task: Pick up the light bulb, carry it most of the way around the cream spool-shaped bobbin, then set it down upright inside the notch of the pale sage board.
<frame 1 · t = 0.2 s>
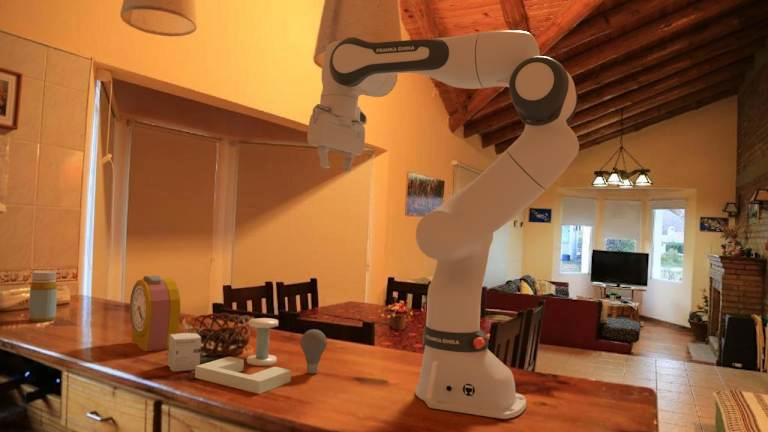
hand: (335, 170, 126), 47 cm above the kitchen counter, tool pointing down, fingers open, 8 cm apart
skincare box: (183, 368, 122), on the kitchen counter
notched board: (242, 379, 115), on the kitchen counter
alarm clock: (152, 346, 141), on the kitchen counter
bottle: (42, 321, 164), on the kitchen counter
bobbin: (261, 362, 130), on the kitchen counter
light bulb: (312, 373, 123), on the kitchen counter
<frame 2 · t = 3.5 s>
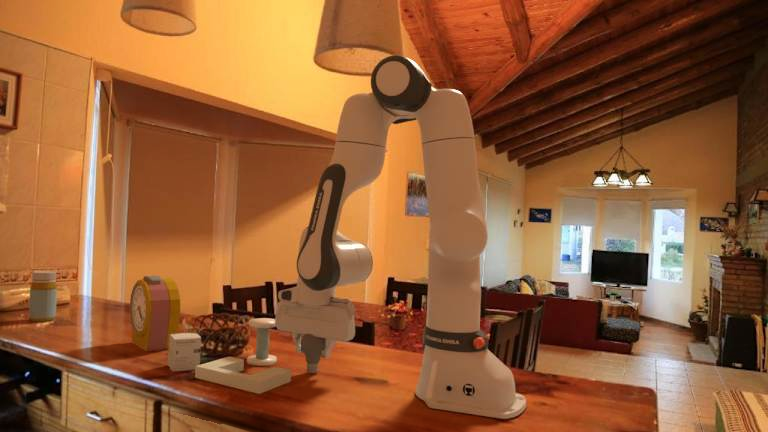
hand: (313, 355, 122), 4 cm above the kitchen counter, tool pointing down, fingers closed on light bulb, 6 cm apart
light bulb: (312, 373, 123), on the kitchen counter, touching gripper
everything else where it was.
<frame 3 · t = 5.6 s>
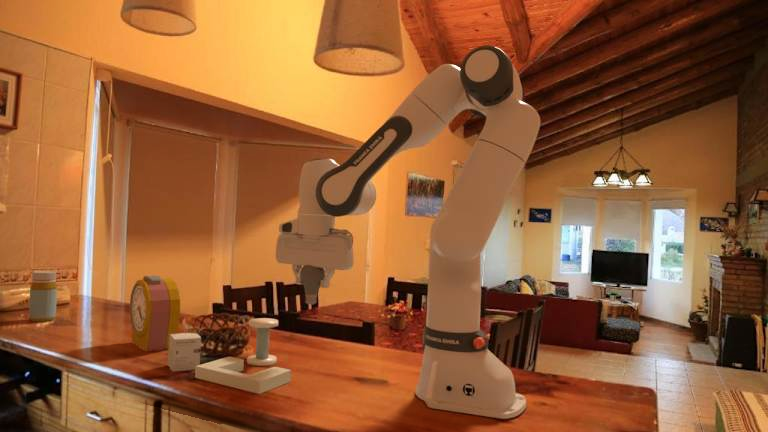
hand: (312, 285, 126), 20 cm above the kitchen counter, tool pointing down, fingers closed on light bulb, 6 cm apart
light bulb: (310, 305, 126), point 15 cm above the kitchen counter, touching gripper
everything else where it was.
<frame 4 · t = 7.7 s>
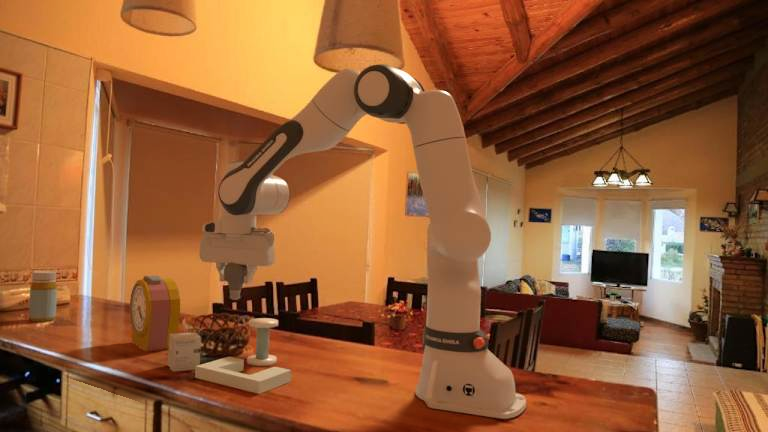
hand: (235, 282, 133), 19 cm above the kitchen counter, tool pointing down, fingers closed on light bulb, 6 cm apart
light bulb: (234, 300, 133), point 14 cm above the kitchen counter, touching gripper
everything else where it was.
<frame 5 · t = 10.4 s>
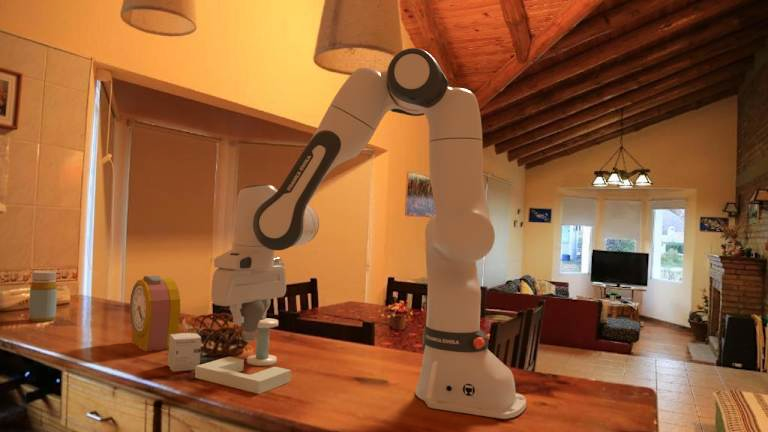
hand: (249, 321, 117), 12 cm above the kitchen counter, tool pointing down, fingers closed on light bulb, 6 cm apart
light bulb: (249, 342, 116), point 8 cm above the kitchen counter, touching gripper
everything else where it was.
when the fingers open (6 cm above the kitchen counter, at t = 12.1 s): light bulb drops 1 cm, on the kitchen counter.
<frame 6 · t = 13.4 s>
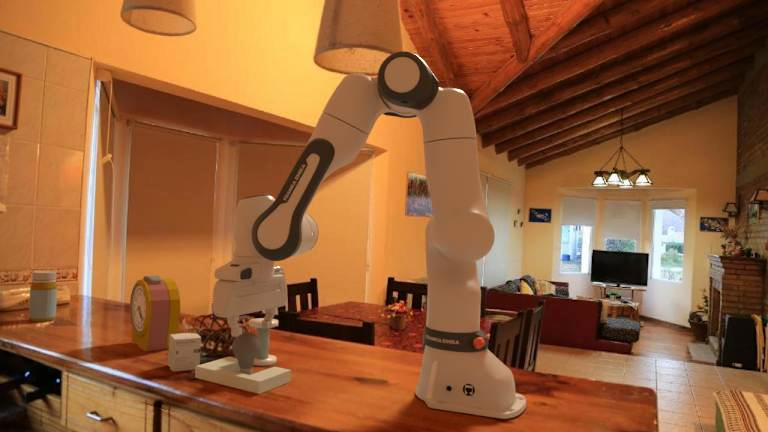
hand: (251, 332, 117), 10 cm above the kitchen counter, tool pointing down, fingers open, 8 cm apart
light bulb: (246, 378, 116), on the kitchen counter
everything else where it was.
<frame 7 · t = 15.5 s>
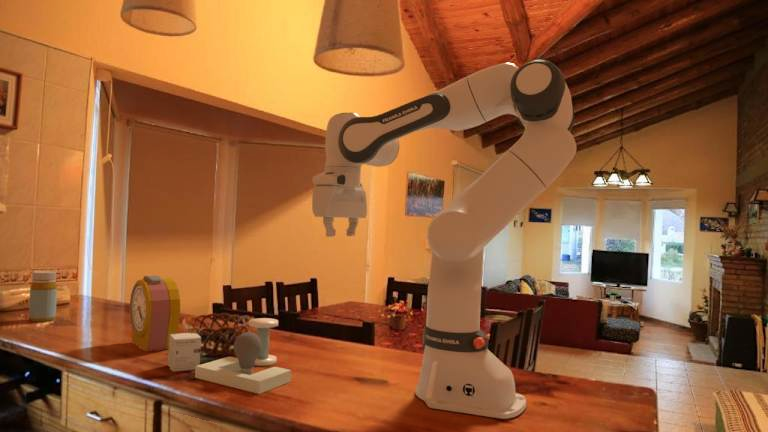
hand: (341, 236, 131), 31 cm above the kitchen counter, tool pointing down, fingers open, 8 cm apart
nothing on the kitchen counter moved.
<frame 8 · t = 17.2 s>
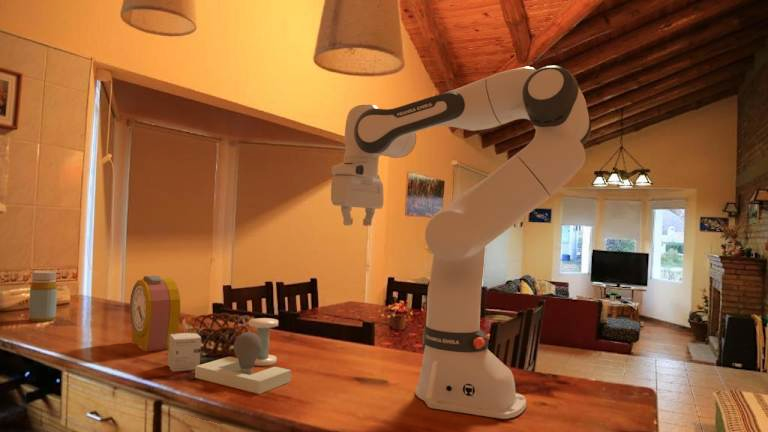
hand: (357, 225, 134), 34 cm above the kitchen counter, tool pointing down, fingers open, 8 cm apart
nothing on the kitchen counter moved.
at the end: light bulb 0.4 cm from the target spot on the notched board, point 0.0 cm above the notched board's base; light bulb tilted 0°; the gripper is holding nothing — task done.
